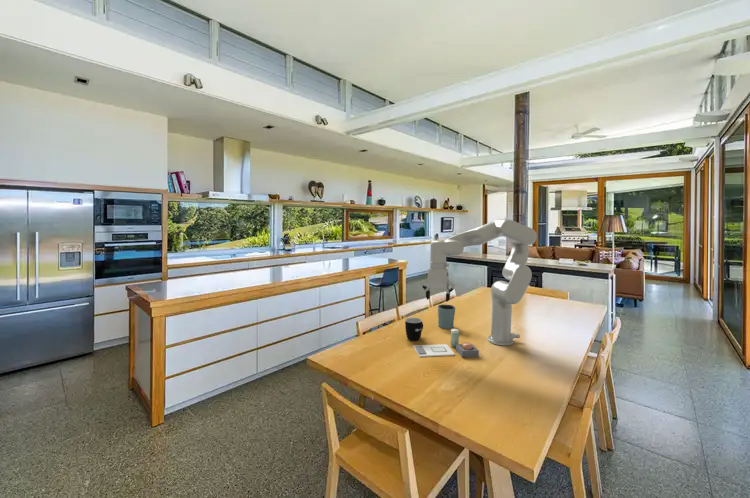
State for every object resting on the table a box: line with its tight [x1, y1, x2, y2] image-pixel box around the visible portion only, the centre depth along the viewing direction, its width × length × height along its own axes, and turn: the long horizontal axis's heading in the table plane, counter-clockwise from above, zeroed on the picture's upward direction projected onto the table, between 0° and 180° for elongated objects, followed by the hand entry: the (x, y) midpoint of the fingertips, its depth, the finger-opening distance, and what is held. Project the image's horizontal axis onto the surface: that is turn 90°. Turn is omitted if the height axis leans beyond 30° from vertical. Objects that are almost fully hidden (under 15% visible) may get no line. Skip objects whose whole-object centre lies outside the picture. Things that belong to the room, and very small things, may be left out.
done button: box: [462, 342, 473, 350], centre depth 159 cm, size 4×4×3 cm
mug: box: [404, 317, 424, 342], centre depth 178 cm, size 12×9×10 cm
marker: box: [450, 328, 460, 348], centre depth 167 cm, size 4×4×8 cm
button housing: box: [455, 343, 480, 358], centre depth 159 cm, size 8×8×3 cm
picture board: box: [413, 343, 456, 358], centre depth 162 cm, size 17×12×1 cm
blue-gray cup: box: [437, 303, 456, 330], centre depth 196 cm, size 10×10×12 cm
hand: (437, 299), depth 166 cm, fingers open, 9 cm apart
